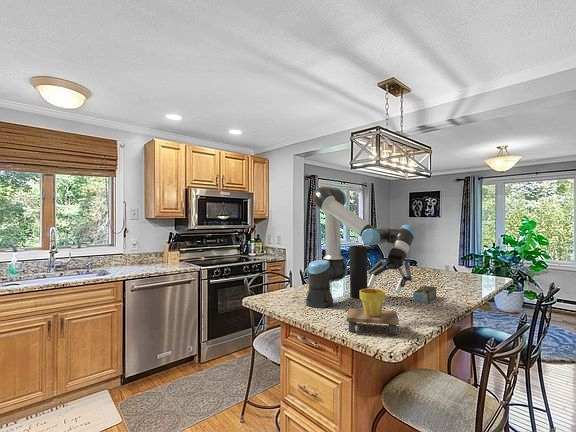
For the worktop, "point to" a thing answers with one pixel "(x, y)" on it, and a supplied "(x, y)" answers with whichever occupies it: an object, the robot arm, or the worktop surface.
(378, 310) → the plant pot
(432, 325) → the worktop surface
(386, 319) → the shelf stand
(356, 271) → the vase
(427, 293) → the beverage carton
